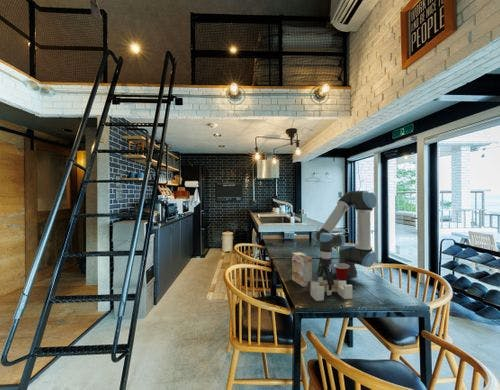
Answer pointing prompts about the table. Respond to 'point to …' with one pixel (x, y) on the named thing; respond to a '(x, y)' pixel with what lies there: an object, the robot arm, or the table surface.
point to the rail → (324, 283)
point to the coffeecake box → (301, 268)
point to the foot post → (344, 290)
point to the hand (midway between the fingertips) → (324, 290)
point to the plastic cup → (341, 271)
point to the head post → (317, 291)
